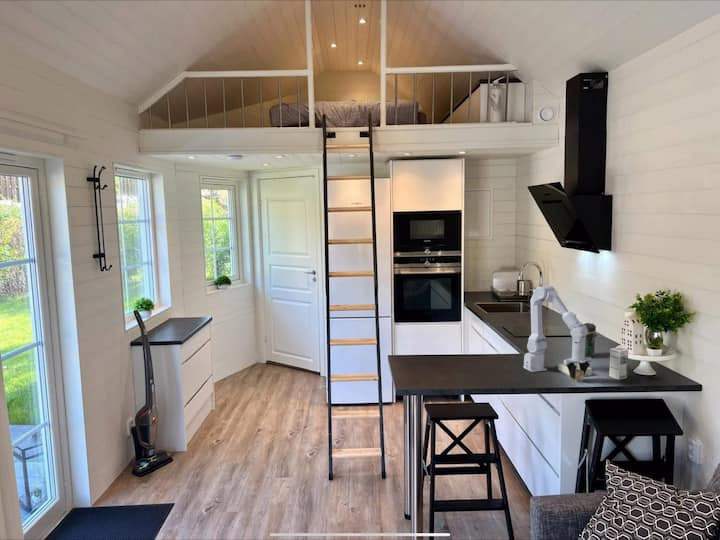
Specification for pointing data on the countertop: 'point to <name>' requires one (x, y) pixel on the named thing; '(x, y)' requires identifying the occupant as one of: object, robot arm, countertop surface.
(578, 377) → the beech block
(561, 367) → the white tub
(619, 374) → the syrup box
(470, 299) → the countertop surface
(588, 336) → the coffee jar
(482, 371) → the countertop surface
